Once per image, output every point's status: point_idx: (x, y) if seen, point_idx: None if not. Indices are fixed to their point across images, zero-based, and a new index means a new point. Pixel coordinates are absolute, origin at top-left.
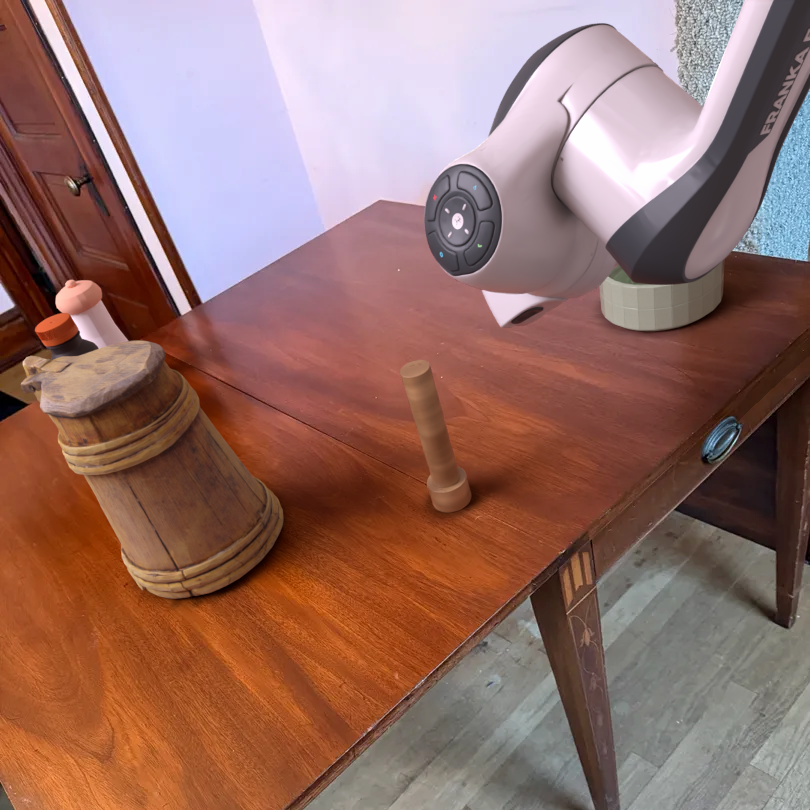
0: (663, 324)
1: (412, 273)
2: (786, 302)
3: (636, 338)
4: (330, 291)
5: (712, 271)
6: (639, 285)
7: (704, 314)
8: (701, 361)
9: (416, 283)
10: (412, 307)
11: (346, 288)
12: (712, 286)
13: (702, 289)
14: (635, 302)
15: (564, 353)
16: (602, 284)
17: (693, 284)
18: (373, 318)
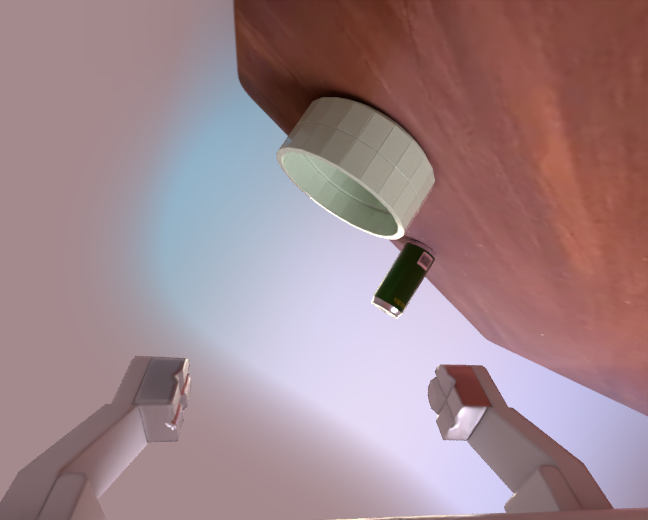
0: (382, 123)
1: (536, 327)
2: (250, 45)
3: (424, 131)
4: (617, 376)
5: (292, 143)
6: (373, 194)
7: (332, 98)
8: (369, 19)
9: (546, 324)
10: (583, 327)
11: (601, 366)
12: (304, 125)
13: (313, 131)
14: (392, 177)
15: (524, 185)
16: (409, 222)
17: (317, 145)
18: (633, 354)
